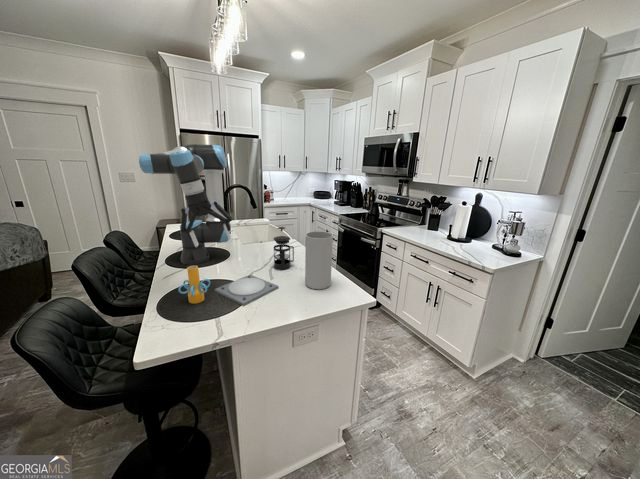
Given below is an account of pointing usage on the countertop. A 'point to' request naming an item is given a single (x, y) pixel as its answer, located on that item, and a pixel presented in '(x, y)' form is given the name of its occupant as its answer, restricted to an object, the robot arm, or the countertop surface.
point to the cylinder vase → (318, 259)
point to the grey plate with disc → (246, 289)
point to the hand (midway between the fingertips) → (213, 242)
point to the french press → (282, 252)
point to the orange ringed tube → (194, 286)
